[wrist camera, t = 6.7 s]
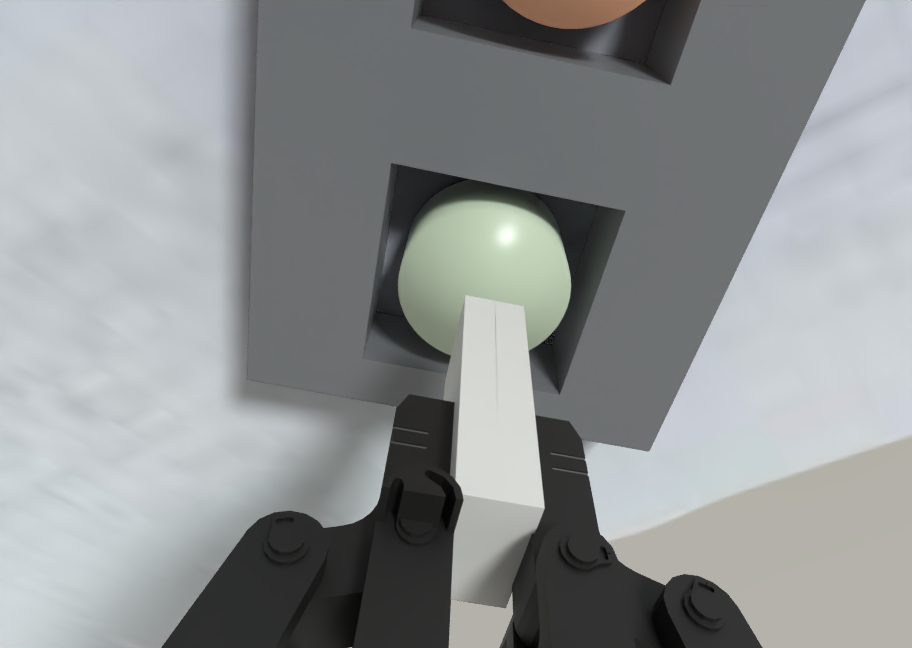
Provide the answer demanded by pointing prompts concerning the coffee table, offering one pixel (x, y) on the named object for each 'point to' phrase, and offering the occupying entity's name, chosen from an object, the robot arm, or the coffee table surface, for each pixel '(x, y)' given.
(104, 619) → the coffee table surface
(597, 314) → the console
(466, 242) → the button sage
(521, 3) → the button terracotta
